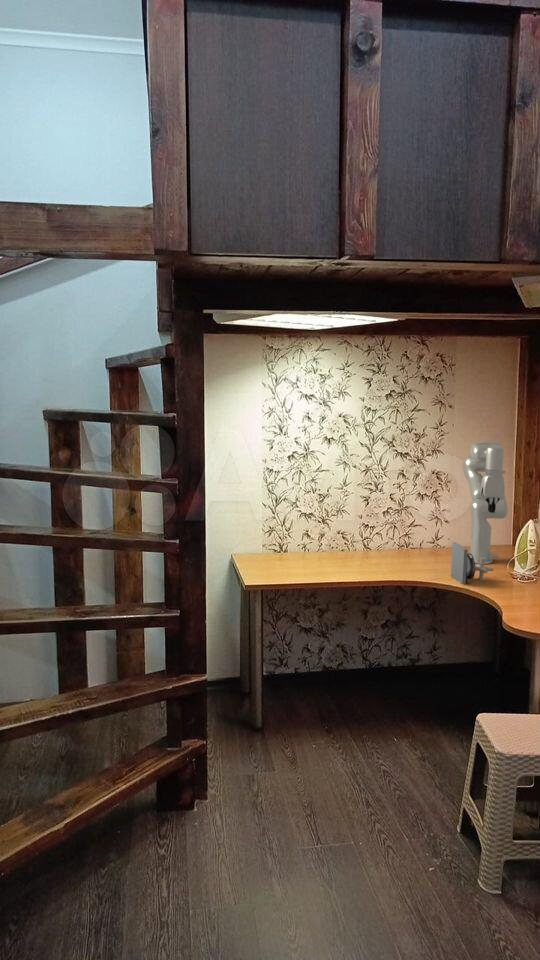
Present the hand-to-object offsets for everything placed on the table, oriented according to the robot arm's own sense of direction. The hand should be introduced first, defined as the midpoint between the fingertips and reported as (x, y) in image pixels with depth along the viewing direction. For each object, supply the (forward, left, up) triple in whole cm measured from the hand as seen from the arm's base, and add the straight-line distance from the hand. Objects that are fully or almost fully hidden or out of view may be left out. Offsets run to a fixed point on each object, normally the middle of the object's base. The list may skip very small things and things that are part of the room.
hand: (491, 512), depth 306 cm
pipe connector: (+8, +11, -29) cm, 32 cm away
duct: (+16, +11, -28) cm, 34 cm away
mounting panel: (+17, +11, -29) cm, 35 cm away
